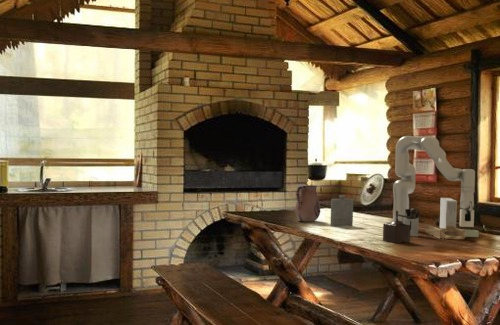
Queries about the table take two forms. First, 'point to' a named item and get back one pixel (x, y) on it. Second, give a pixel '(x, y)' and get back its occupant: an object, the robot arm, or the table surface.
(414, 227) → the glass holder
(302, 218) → the ceramic pitcher
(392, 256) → the table surface
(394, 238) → the dark brown coffee grinder
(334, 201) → the hip flask
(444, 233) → the offcut walnut
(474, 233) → the holder
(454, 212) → the packaging
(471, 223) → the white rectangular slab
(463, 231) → the rack
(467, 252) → the table surface
